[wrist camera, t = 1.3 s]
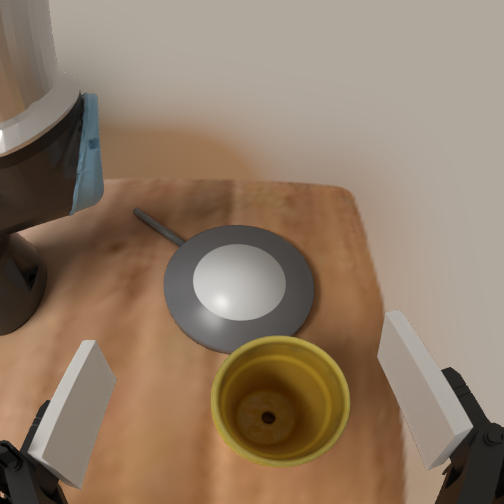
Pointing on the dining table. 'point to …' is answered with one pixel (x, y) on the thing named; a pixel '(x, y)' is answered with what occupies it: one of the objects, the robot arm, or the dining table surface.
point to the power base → (235, 285)
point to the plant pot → (280, 401)
